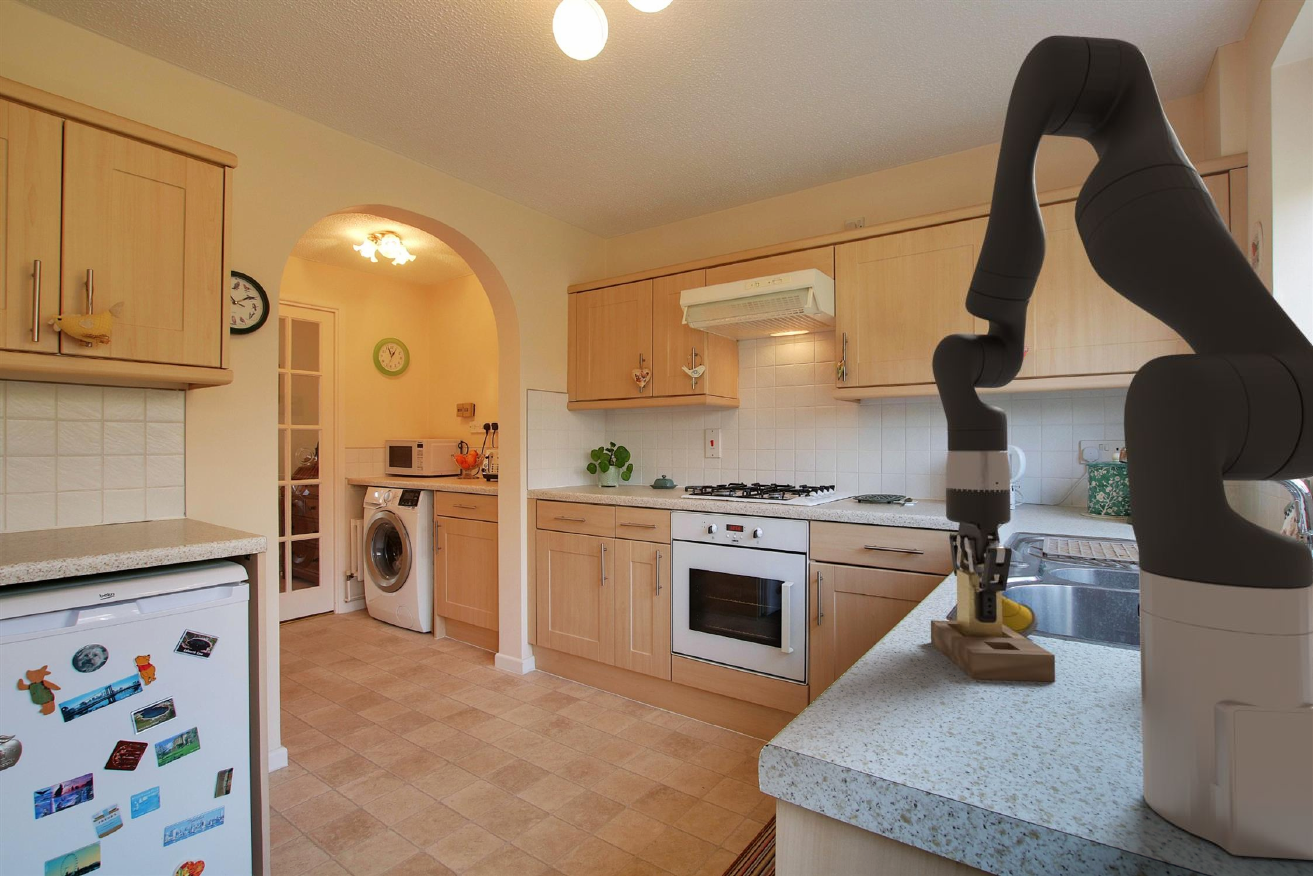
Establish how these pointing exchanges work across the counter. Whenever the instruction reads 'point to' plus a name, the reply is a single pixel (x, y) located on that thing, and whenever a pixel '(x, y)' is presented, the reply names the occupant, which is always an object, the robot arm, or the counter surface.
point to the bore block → (994, 654)
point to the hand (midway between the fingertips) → (978, 616)
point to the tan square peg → (974, 609)
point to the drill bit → (1018, 617)
